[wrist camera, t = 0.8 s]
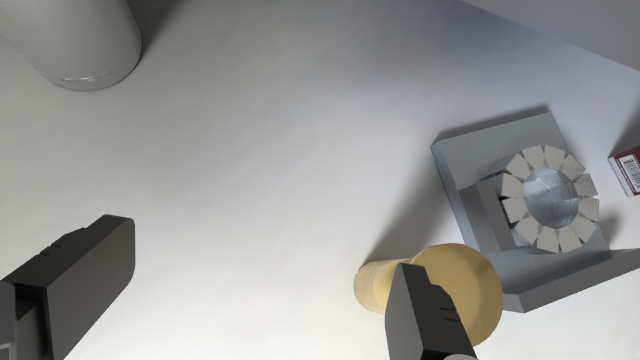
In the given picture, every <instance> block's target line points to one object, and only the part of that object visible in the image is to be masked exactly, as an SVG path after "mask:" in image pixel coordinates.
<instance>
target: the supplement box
mask: <svg viewBox="0 0 640 360" xmlns="http://www.w3.org/2000/svg"><path fill="white" fill-rule="evenodd" d="M608 160H609V162H610V164H611V166H612V168H613V170H614V172H615V174H616V176H617V177H618V179H619V181H620V183H621V185H622V187H623V189H624V191H625V193H626V195H627V196H628V197H631V196H635V195H640V146H638V147H636V148H633V149H631V150H628V151H626V152H623V153H620V154H618V155H615V156H613V157H610V158H608Z"/></svg>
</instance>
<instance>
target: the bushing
mask: <svg viewBox="0 0 640 360" xmlns="http://www.w3.org/2000/svg"><path fill="white" fill-rule="evenodd" d="M399 262H402V263H409V264H415V265H421V266H424V267H425V269H426V272H427V275H428V278H429V280H430V283H431V284H435V285H440V286H441V287H442V288H443V289H444V290H445V291H446V292H447V293H448V294H449V295H450V296H451V297H452V300H453V302H454V304H455V307H456V309H457V313H458V314H459V316H460V319H461V323H463V326H464V328H465V330H466V333H467V335H468V337H469V340H470V342H471V345H472V347H473V346H476V345H478V344H480V343H481V342H483V341H484V340H486V339H487V338H488V337H489V336H490V335H491V334H492V332H493V331H494V330H495V328H496V326H497V325H498V323H499V320H500V317H501V314H502V309H503V291H502V286H501V282H500V279H499V277H498V274H497V272H496V271H495V269H494V267H493V266H492V264H491V263H490V262H489V261H488V259H487V258H486V257H485V256H483V255H482V254H481V253H480V252H478V251H477V250H475V249H473V248H471V247H469V246H466V245H463V244H458V243H448V244H440V245H434V246H430V247H428V248H425V249H424V250H422V251H420V252H419V253H418V254H416V255H415V256H414V257H413V258H404V259H393V260H383V261H373V262H369V263H367V264H365V265H364V266H362V267H361V268H360V269H359V271H358V272H357V274H356V277H355V280H354V292H355V295H356V298H357V300H358V301H359V303H360V304H361V305H362V306H363V307H364V308H366V309H367V310H370V311H372V312H376V313H379V314H382V315H385V310H386V304H387V300H388V297H389V293H390V289H391V285H392V281H393V277H394V273H395V269H396V266H397V264H398V263H399Z"/></svg>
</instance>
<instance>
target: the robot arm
mask: <svg viewBox="0 0 640 360" xmlns="http://www.w3.org/2000/svg"><path fill="white" fill-rule="evenodd" d="M0 34H1V35H2V36H3V37H4V38H5V39H6V40H7V41H8V42H9V43H10V44H11V45H12V46H13V47H14V48H16V50H17V51H18V52H19V53H21V54H22V55H23V56H24V57H25V58H26V59H27V60H28V61H29V62H30V63H31V64H32V65H33V66H34V67H35V68H36V69H37V70H38V71H39V72H40V73H41V74H42V75H44V76H45V77H46V78H47V79H49V80H50V81H51V82H53V83H55V84H57V85H59V86H61V87H64V88H68V89H71V90H79V91H91V90H99V89H102V88H106V87H109V86H111V85H113V84H115V83H117V82H119V81H121V80H122V79H123V78H125V77H126V76H127V75H128V74H129V73H130V72H131V71H132V70H133V68H134V67H135V66H136V64H137V62H138V60H139V58H140V54H141V50H142V38H141V34H140V30H139V28H138V26H137V23H136V21H135V19H134V17H133V15H132V12H131V10H130V8H129V6H128V3H127V1H126V0H0ZM134 269H135V223H134V221H133V219H131V218H126V217H120V216H113V215H103V216H102V217H100V218H99V219H98V220H96V221H95V222H94V223H92V224H91V225H90V226H88V227H87V228H81V229H78V230H75V231H73V232H70V233H68V234H65V235H63V236H62V237H61V238H59V239H58V240H56V241H55V242H54V243H52V244H51V246H48V247H47V248H45V249H44V250H42V251H41V252H40V254H39V255H35V256H34V257H33V258H31V259H30V260H28V261H27V262H26V263H24V264H23V265H21V266H20V267H19V268H17V269H16V270H14V271H13V272H12V273H10V274H9V275H7V276H6V277H5V278H3V279H2V280H1V281H0V360H63V359H64V358H65V357H66V356H67V355H68V354H69V353H70V351H71V350H72V349H73V348H74V347H75V346H76V344H77V343H78V342H79V341H80V340H81V339H82V337H83V336H84V335H85V334H86V333H87V332H88V330H89V329H90V328H91V327H92V326H93V325H94V323H95V322H96V321H97V320H98V319H99V318H100V316H101V315H102V314H103V313H104V312H105V311H106V310H107V308H108V307H109V306H110V305H111V304H112V303H113V301H114V300H115V299H116V298H117V297H118V296H119V294H120V293H121V292H122V291H123V290H124V289H125V287H126V286H127V285H128V284H129V282H130V281H131V279H132V276H133V273H134ZM385 330H386V336H387V343H388V349H389V356H390V360H479V359H477V356H476V354H475V352H474V349H473V347H472V345H471V342H470V340H469V337H468V335H467V333H466V330H465V328H464V326H463V323H461V319H460V316H459V314H458V313H457V309H456V307H455V304H454V302H453V300H452V297H451V296H450V295H449V294H448V293H447V292H446V291H445V290H444V289H443V288H442V287H441V286H440V285H435V284H431V283H430V280H429V278H428V275H427V272H426V269H425V267H424V266H421V265H415V264H409V263H402V262H399V263H398V264H397V266H396V269H395V273H394V277H393V281H392V285H391V289H390V293H389V297H388V300H387V304H386V310H385Z"/></svg>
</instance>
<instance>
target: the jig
mask: <svg viewBox="0 0 640 360" xmlns="http://www.w3.org/2000/svg"><path fill="white" fill-rule="evenodd" d="M430 148H431V151H432V154H433V157H434V159H435V162H436V165H437V168H438V170H439V173H440V176H441V179H442V181H443V184H444V187H445V190H446V192H447V195H448V198H449V201H450V203H451V206H452V209H453V212H454V214H455V217H456V220H457V223H458V225H459V228H460V231H461V234H462V236H463V239H464V242H465V245H466V246H469V247H471V248H473V249H475V250H477V251H478V252H480V253H481V254H482V255H483V256H485V257H486V258H487V259H488V261H489V262H490V263H491V264H492V266H493V267H494V269H495V271H496V272H497V274H498V277H499V279H500V282H501V286H502V291H503V309H502V310H506V311H513V312H520V313H526V312H529V311H531V310H534V309H537V308H539V307H542V306H544V305H547V304H549V303H552V302H554V301H557V300H559V299H562V298H564V297H567V296H569V295H572V294H575V293H577V292H580V291H582V290H585V289H587V288H590V287H592V286H595V285H597V284H600V283H602V282H605V281H607V280H610V279H613V278H615V277H618V276H620V275H623V274H625V273H628V272H630V271H633V270H635V269H638V268H640V248H636V249H620V250H610V249H609V247H608V244H607V242H606V240H605V237H604V235H603V233H602V230H601V228H600V226H599V223H598V221H599V200H598V199H594V198H591V197H592V196H595V195H598V193H597V190H596V188H595V186H594V183H593V181H592V179H591V176H590V174H586V175H582V174H583V172H584V171H585V169H586V168H585V167H583V166H582V165H581V164H580V163H579V162H578V161H577V160H576V159H575V158H574V157H573V156H572V155H571V154H569V153H568V150H567V148H566V146H565V143H564V141H563V139H562V136H561V134H560V132H559V129H558V127H557V125H556V122H555V120H554V117H553V115H552V113H551V112H547V113H543V114H540V115H536V116H532V117H528V118H524V119H520V120H516V121H513V122H509V123H505V124H501V125H497V126H493V127H489V128H486V129H482V130H478V131H474V132H470V133H466V134H462V135H459V136H455V137H451V138H447V139H443V140H439V141H438V142H436V143H435V144H434V145H432V146H431V147H430ZM581 175H582V176H581Z"/></svg>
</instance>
